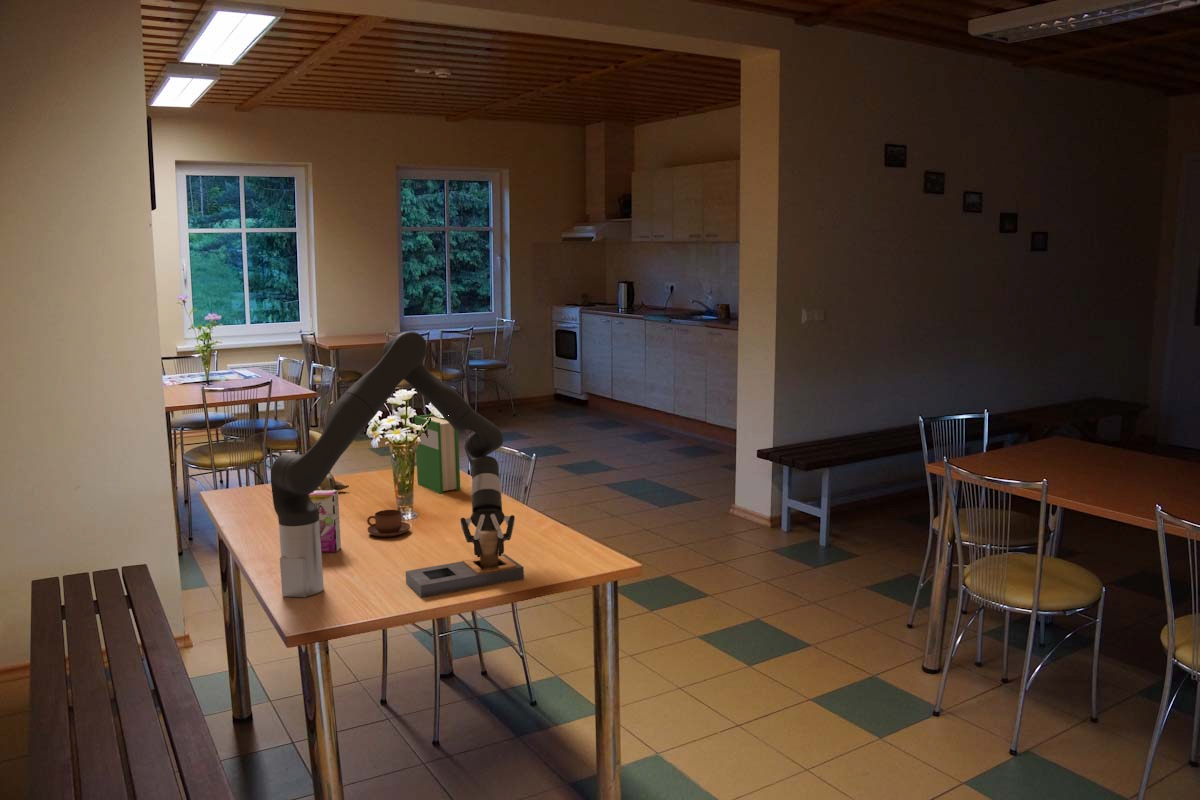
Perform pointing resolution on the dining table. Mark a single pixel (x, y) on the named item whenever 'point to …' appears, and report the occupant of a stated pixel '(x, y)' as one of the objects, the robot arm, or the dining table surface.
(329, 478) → the ceramic sculpture
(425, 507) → the dining table surface
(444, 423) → the hardback book
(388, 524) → the cup and saucer
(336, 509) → the candy bar box
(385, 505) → the dining table surface
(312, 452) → the robot arm
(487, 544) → the walnut peg
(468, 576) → the grey peg board
